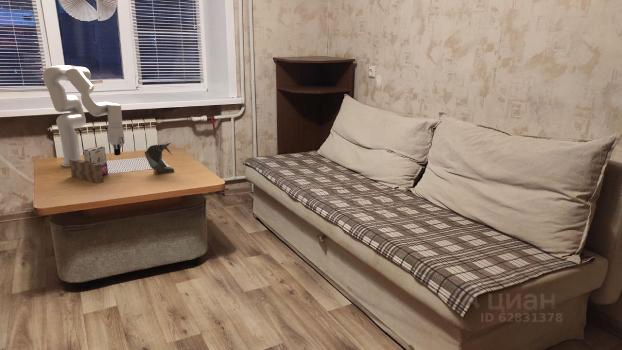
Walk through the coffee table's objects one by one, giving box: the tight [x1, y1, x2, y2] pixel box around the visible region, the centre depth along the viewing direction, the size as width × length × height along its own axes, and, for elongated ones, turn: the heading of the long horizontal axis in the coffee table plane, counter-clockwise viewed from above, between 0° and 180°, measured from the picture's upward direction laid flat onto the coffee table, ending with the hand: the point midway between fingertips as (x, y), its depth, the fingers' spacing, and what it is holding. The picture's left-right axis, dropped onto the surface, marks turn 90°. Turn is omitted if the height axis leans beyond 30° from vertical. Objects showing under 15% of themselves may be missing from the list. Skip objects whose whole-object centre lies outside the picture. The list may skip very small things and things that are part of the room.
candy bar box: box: [83, 145, 109, 177], centre depth 252 cm, size 11×5×16 cm, turn 159°
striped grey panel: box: [69, 159, 104, 184], centre depth 247 cm, size 24×3×10 cm, turn 60°
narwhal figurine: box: [144, 142, 175, 175], centre depth 260 cm, size 14×15×18 cm
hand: (117, 154), depth 266 cm, fingers closed
